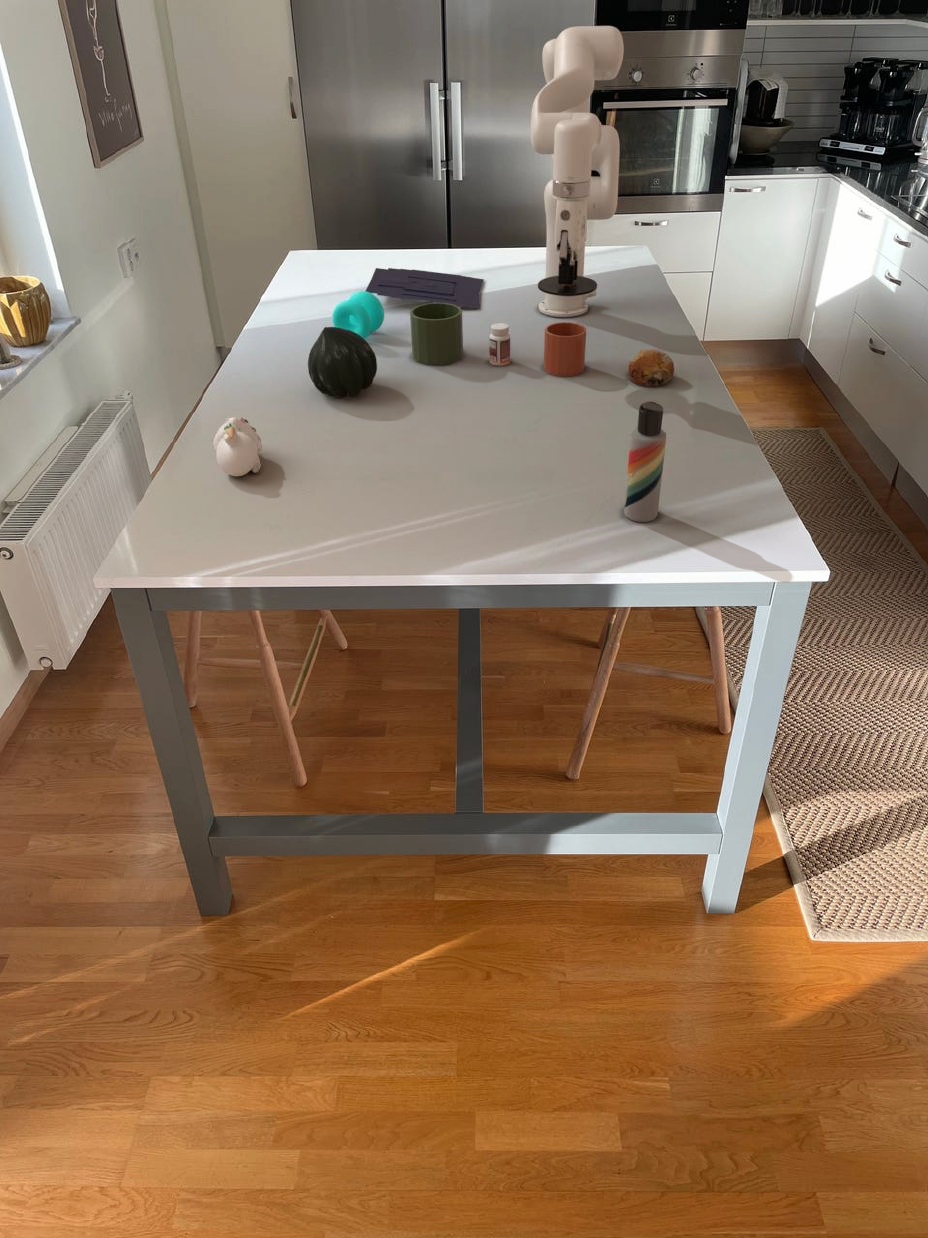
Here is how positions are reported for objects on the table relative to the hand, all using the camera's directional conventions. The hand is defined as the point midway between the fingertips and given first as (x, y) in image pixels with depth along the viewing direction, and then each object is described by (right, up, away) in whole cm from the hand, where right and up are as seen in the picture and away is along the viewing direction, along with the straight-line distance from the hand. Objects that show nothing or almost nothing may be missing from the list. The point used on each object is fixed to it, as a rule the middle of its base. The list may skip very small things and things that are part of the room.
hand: (567, 280), depth 203 cm
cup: (0, -16, +12) cm, 19 cm away
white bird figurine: (-64, -43, -22) cm, 80 cm away
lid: (0, -1, +1) cm, 1 cm away
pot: (-28, -11, +20) cm, 36 cm away
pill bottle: (-14, -13, +16) cm, 25 cm away
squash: (-48, -22, +5) cm, 53 cm away
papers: (-32, +15, +55) cm, 65 cm away
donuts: (-47, -3, +31) cm, 56 cm away
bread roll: (+19, -19, +6) cm, 28 cm away
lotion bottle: (+8, -54, -40) cm, 68 cm away
